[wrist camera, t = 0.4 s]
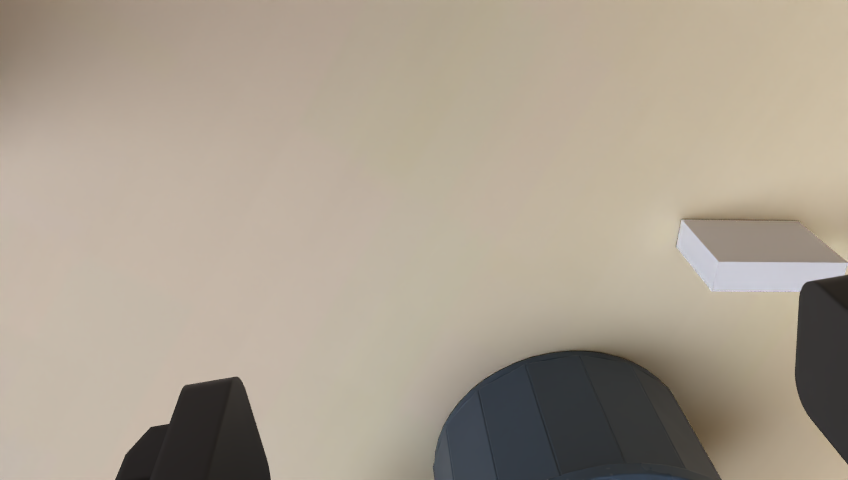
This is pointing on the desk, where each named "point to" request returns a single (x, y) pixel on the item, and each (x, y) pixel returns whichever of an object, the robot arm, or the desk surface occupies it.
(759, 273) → the eraser
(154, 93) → the desk surface
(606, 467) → the lid
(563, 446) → the pot
